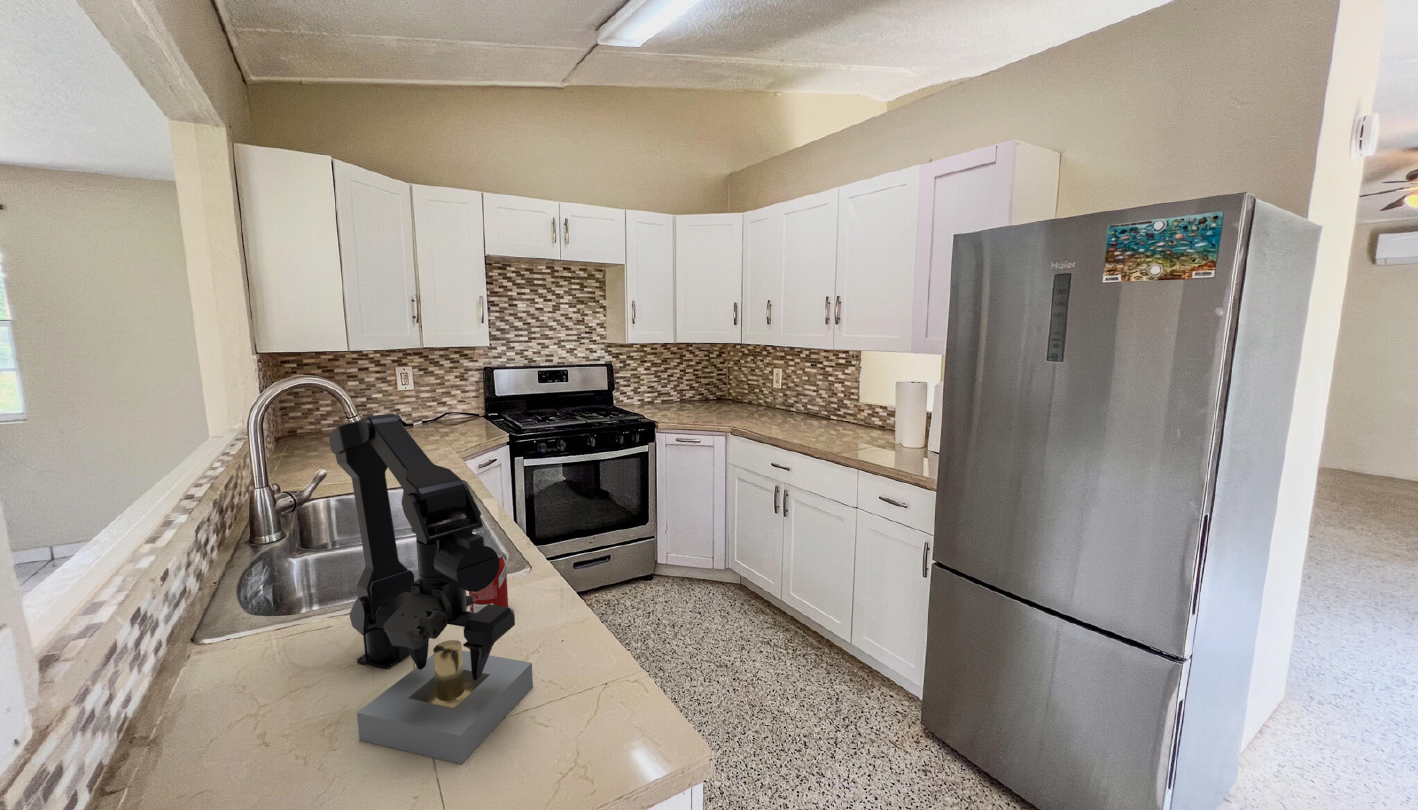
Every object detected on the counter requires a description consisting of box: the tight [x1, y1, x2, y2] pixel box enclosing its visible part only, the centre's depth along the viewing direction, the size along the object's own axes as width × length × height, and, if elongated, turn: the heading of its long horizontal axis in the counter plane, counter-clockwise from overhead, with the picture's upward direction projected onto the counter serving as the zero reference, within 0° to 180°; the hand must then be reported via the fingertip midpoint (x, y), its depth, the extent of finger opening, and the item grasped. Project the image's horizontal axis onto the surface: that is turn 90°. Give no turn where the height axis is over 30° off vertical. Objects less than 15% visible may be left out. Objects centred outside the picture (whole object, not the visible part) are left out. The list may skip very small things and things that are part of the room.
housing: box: [356, 650, 534, 765], centre depth 81 cm, size 16×16×4 cm
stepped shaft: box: [427, 639, 474, 708], centre depth 81 cm, size 6×6×10 cm
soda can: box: [468, 549, 509, 613], centre depth 108 cm, size 7×7×12 cm
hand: (449, 673), depth 81 cm, fingers open, 9 cm apart
